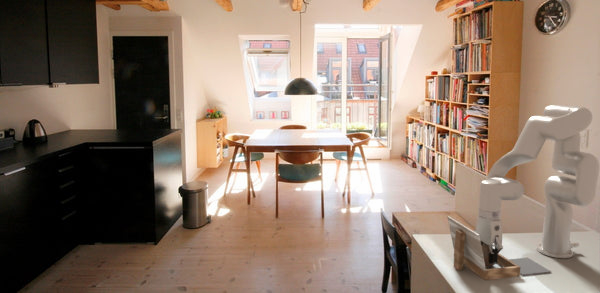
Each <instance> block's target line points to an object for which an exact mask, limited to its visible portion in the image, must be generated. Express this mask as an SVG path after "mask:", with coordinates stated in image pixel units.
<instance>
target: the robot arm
mask: <svg viewBox="0 0 600 293" xmlns="http://www.w3.org/2000/svg"><path fill="white" fill-rule="evenodd" d="M592 121H593V113H592V111H591V110H590V108H589V109H588V108H587V107H585V106H584V107H583V106H578V105H577V106H576V105H568V104H566V105H563V104H551V105H548V106H546V107H545V108H544V109H543V113H542V115H533V116H531V117H530V118H528V119H527V121H526V123H524V127H523V129H522V131H521V133H520V134H519V136H518V138H517V140H516V142H515V145H514V147H513V148H512V150H511V151H509V152H507V153H506V154H504V155H503V156H501V157H500V158H499V159H498V160H497V161H495V163H494V164H493V165H492V166H491V168H490V170H489V172H488V173H487V175H486V176H487V177H486V179H485V180H482V181H481V182H480V183H479V194H478V195H479V197H478V209H477V211H478V212H477V213H478V214H477V218H476V222H475V224H476V225H475V229H474V230H473V231H474V232H476V233H477V234H479V235H480V240H481V246H482V245H483V244H484V243H485V244H487V245H489V248H490V253H489V263H490V264H491V263H495V264H498V263H497V257H498V253H499V254H500V252H501V251H502V249H504V245H503V224H502V223H503V222H502V220H501V213H502V212H501V211H502V209H501V208H502V201H517V200H520V199H521V198H522V197H523V196H524V194H525V192H526V190H525V186H524V185H523V184H522V183H521V182H520V181H518V180H515V179H512V178H508V177H506V175H507V173H508V172H509V171H510V170H512V169H513V168H515V167H516V166H520V165H523V164H527V163H530V162H534V161H535V160H537V158H538V156H539V155H540V152H541V150H542V148H543V146H544V144H545V142H546V141H547V140H548V141H554V144H553V153H552V160H551V167H552V169H553V170H555V171H556V172H558V173H561V174H566V175H568V176H569V175H570V176H573V177H575V178H571V177H568V176H564V175H559V174H558V175H551V176H549V177H548V178H547V179H545V182H544V186H543V191H544V197H545V198H544V200H545V206H544V217H543V225H542V226H543V227H542V236H541V243H539V244H537V245H536V250H537V251H538V252H539V253H540V254H542V255H545V256H548V257H552V258H557V259H570V258H572V257H574V251H572V249H573V248H579V246H580V244H579V242H576V241H575V242H572V241H571V232H572V223H573V215H574V213H573V212H574V211H573V207H572V206H573V205H574V206H577V207H589V206H590V205H591V204H592V203H593V202H594V199H595V197H596V192H597V186H598V179H599V172H600V163H599V160H598V158H597V156H595V155H594V154H592V153H589V152H586V151H585V152H584V151H581V138H582V137H581V134H580V133H581V132H583V131H584V130H586V129H587V128H589V126H590V125H591V123H592ZM493 248H494V250H493Z"/></svg>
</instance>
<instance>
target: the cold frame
mask: <svg viewBox="0 0 600 293" xmlns="http://www.w3.org/2000/svg"><path fill="white" fill-rule="evenodd" d="M446 217H447V218H446V219H447V222H448V227H449V232H450V236H451V241H452V247H453V268H454V269H456V270H457V271H463V270H464V266H465V267H467V268H468V269H470V270H471V271H472V272H473V273H475V274H476V275H478V276H479V277H480V278H481V279H483V280H484V281H488V280H489V281H490V280H498V279H507V278H508V279H509V278H514V277H520V276H521V275H520V268H521V267H520V266H518V265H517V264H515V263H513V262H512V261H510V260H509V258H507V257H505V256H504V255H502V254H501V253H500V252H499V253H498V257H497V263H496V264H498V265H499V266H501V267H495V268H488V269H487V267H485V262H484V256H483V251H482V246H481V240H480V235H479V234H477V233H476V232H474V230H472V229H471V228H469V227H467V226H466V225H464V224H462V223H461V222H460V221H457V220H456V219H454V218H453V217H451V216H449V215H448V216H446Z"/></svg>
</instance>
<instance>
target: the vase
mask: <svg viewBox="0 0 600 293" xmlns="http://www.w3.org/2000/svg"><path fill="white" fill-rule="evenodd" d="M494 249H495V247H493V250H494ZM482 251H483V256H484V262H485V267H486V268H492V267H493V266H494V265H495V264H496V263H491V264H490V263H489V253H490V248H489V245H487V244H485V243H484V244H483V245H482Z"/></svg>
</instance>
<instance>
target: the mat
mask: <svg viewBox="0 0 600 293" xmlns="http://www.w3.org/2000/svg"><path fill="white" fill-rule="evenodd" d="M508 259H509V258H508ZM509 260H510V261H512V262H513V263H515V264H517V265H518V266H520V267H521V268H520V276H522V277H524V276H532V275H540V274H541V275H542V274H551V273H552V270H550V269H549V268H546V267H545V266H543V265H541V264H539V263H538V262H536V261H534V260H533V259H531V258H529V257H520V258H518V257H517V258H511V259H509Z"/></svg>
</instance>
